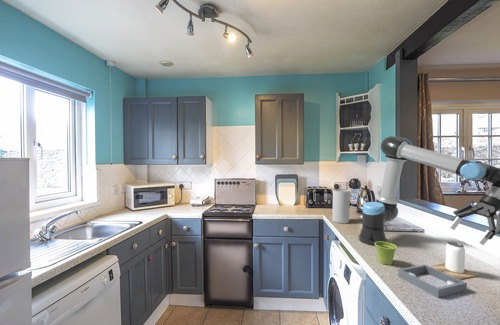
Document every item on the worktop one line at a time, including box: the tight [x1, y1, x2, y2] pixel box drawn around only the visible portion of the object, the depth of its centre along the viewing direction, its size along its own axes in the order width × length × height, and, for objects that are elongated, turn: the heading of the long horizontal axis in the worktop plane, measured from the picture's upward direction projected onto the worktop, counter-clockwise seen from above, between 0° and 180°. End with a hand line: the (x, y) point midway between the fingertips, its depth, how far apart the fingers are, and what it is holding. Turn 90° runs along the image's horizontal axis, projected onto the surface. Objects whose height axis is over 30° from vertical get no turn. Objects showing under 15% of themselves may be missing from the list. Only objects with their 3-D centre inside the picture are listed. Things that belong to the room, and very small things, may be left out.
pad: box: [430, 263, 480, 281], centre depth 106 cm, size 12×12×1 cm
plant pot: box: [375, 241, 398, 266], centre depth 114 cm, size 9×9×9 cm
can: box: [445, 241, 466, 274], centre depth 106 cm, size 6×6×12 cm
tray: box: [397, 264, 468, 298], centre depth 95 cm, size 16×16×3 cm
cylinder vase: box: [331, 188, 351, 224], centre depth 185 cm, size 12×12×25 cm
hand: (465, 235), depth 109 cm, fingers open, 13 cm apart
